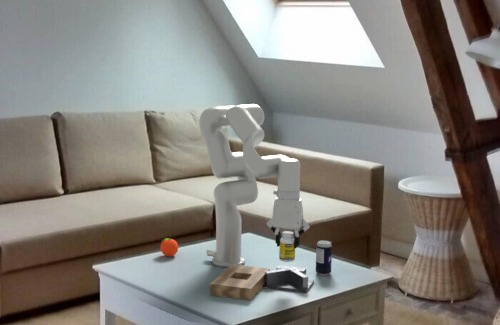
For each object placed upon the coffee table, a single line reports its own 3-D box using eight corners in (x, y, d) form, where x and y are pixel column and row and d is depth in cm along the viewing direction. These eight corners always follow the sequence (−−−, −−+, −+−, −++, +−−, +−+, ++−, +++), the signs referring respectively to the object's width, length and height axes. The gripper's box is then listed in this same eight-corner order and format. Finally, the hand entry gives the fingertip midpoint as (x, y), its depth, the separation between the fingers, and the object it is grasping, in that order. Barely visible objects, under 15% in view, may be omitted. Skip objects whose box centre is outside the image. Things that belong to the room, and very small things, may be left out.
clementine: (154, 256, 292) (154, 238, 291) (166, 251, 297) (166, 234, 296) (170, 259, 287) (170, 242, 286) (181, 255, 293) (181, 238, 292)
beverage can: (330, 276, 271) (331, 245, 268) (314, 275, 272) (315, 243, 270) (331, 271, 276) (332, 240, 274) (316, 270, 277) (317, 239, 275)
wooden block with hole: (210, 295, 250) (210, 283, 250) (231, 274, 271) (231, 264, 270) (250, 300, 246) (251, 288, 245) (269, 279, 267) (269, 268, 266)
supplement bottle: (284, 263, 253) (284, 235, 252) (276, 258, 258) (276, 231, 256) (297, 261, 256) (298, 233, 254) (289, 257, 260) (290, 229, 259)
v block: (261, 287, 258) (261, 273, 257) (270, 277, 269) (270, 264, 268) (306, 293, 254) (307, 279, 253) (313, 282, 264) (314, 269, 263)
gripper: (261, 195, 252) (260, 246, 255) (310, 199, 247) (309, 251, 250) (267, 190, 259) (266, 241, 262) (315, 194, 254) (314, 245, 257)
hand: (287, 245), depth 256 cm, fingers closed on supplement bottle, 5 cm apart
